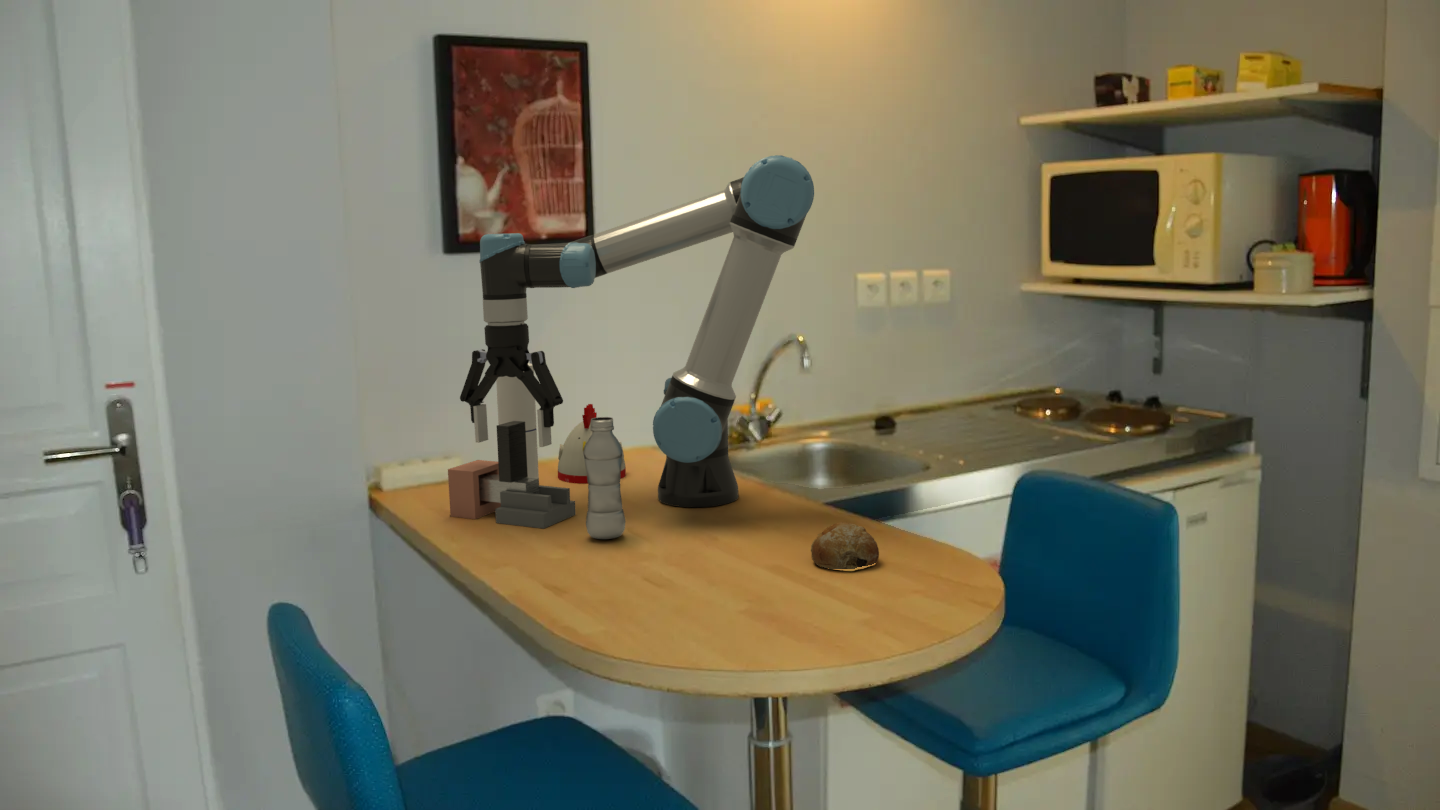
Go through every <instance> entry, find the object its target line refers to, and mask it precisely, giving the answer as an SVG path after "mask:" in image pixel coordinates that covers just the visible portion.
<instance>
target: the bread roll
mask: <svg viewBox="0 0 1440 810" xmlns="http://www.w3.org/2000/svg"><path fill="white" fill-rule="evenodd" d="M879 550H880V549H879V547H878V543H877V542H876V540H875V538H874V537H873V536H872V535H871V534H870V533H869V532H868V531H867V530H866V528H865V527H863V526H859V525H857V524H855V523H850V522H843V521H842V522H837V523H833V524H831V525H830V526H827V527H826V528H825V529H823V530H822V531H820V532H819V533H818V534H817V537H816V538H814V539H813V541H812V543H811V547H810V553H811V560H812V561H813V562H814V564H815V565H816V566H817V565H818V566H821V567H820V568H823V567H824V569H825V568H829V569H855V568H857V567H862V566H868V565H872V564H874V563H876V562H877V563H878V560H879V556H880V551H879ZM877 563H876V564H877ZM818 566H817V567H818Z"/></svg>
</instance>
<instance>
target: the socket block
mask: <svg viewBox="0 0 1440 810" xmlns="http://www.w3.org/2000/svg"><path fill="white" fill-rule="evenodd" d="M484 473H487V474H497V475H499V466H498V461H496V460H495V461H494V460H485V459H484V460H482V459H476V460H473V461H470V462H467V463H464V464H460V465H456V466H454V467H451V468H448V469H447V476H448V477H447V479H448V497H449V513H450V514H449V516H450V517H455V518H463V519H472V520H477V519H479V518H482V517H484V516H487V515H490V514H492V513H495V509H497V508H499V507H501V503H498V502H489V501H480V497H479V478H478V475H481V474H484Z"/></svg>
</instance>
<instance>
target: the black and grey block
mask: <svg viewBox="0 0 1440 810" xmlns="http://www.w3.org/2000/svg"><path fill="white" fill-rule="evenodd" d="M496 438H497V440H496V442H497V460H498V461H497V462H498V466H499V475H497V474H487V473H484V474H481V475H478V478H479V497H480V501H489V502H498V503H501V500H500V492H501V491H512V492H522V493H531V494H540V493H539V485H540V478H539V479H538V478H528V474H527V452H526V430H525V422H522V421H511V422H508V423H504V424H500V425H499V424H498V425H496Z"/></svg>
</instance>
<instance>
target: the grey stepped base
mask: <svg viewBox="0 0 1440 810" xmlns="http://www.w3.org/2000/svg"><path fill="white" fill-rule="evenodd" d="M570 489H571V488H570V487H569V488H568V487H561V486H550V485H542V484H541V485H540V484H539V493H540V494H531V493H522V492H512V491H501V492H500V500H501V507H499V508H497V509H495V512H494V513H495V524H500V525H501V524H502V525H510V526H511V525H512V526H518V527H519V526H520V527H526V528H536V529H546V528H548V527H551V526H553V525H555V524H558V523H560V522H562V521H564V520H566V519H569V518H571V517H573V516H576V501H575V500H571V490H570Z"/></svg>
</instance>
